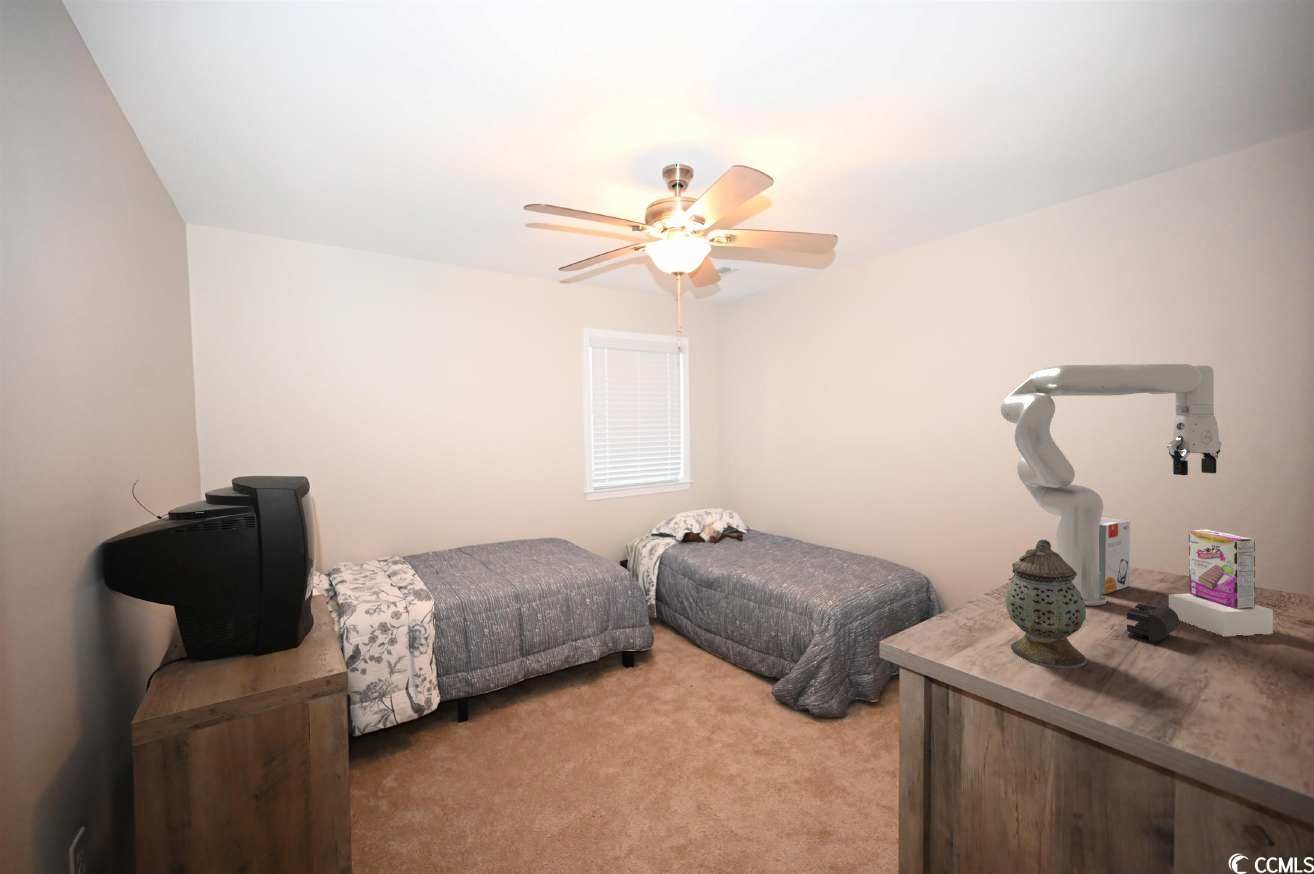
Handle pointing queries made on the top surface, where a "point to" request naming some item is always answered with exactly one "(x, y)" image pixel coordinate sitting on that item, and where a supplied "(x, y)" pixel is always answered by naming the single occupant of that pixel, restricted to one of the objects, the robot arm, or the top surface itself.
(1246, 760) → the top surface
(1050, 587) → the lantern
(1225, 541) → the candy bar box
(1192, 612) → the painted block
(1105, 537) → the hard drive box
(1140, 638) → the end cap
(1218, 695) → the top surface
